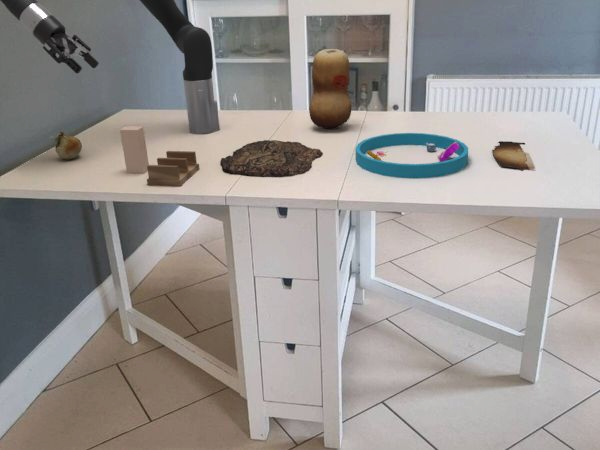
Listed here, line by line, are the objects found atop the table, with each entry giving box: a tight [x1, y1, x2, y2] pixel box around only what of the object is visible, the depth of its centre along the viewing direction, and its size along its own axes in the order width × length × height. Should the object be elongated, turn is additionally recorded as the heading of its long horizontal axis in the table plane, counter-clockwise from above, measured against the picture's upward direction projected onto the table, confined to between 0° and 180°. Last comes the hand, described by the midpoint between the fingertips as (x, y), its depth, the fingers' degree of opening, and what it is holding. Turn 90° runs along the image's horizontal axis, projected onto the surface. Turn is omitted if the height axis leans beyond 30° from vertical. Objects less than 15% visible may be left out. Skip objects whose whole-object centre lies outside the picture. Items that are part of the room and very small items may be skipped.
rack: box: [146, 150, 200, 187], centre depth 155 cm, size 14×9×5 cm, turn 168°
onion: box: [50, 131, 83, 161], centre depth 173 cm, size 8×8×8 cm
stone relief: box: [219, 139, 324, 178], centre depth 166 cm, size 26×4×30 cm
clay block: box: [119, 125, 150, 175], centre depth 159 cm, size 4×5×12 cm
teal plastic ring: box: [355, 132, 469, 179], centre depth 161 cm, size 30×30×6 cm
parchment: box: [491, 140, 536, 172], centre depth 161 cm, size 25×10×1 cm, turn 167°
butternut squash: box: [308, 48, 352, 130], centre depth 190 cm, size 14×13×25 cm
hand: (88, 68), depth 161 cm, fingers open, 8 cm apart
